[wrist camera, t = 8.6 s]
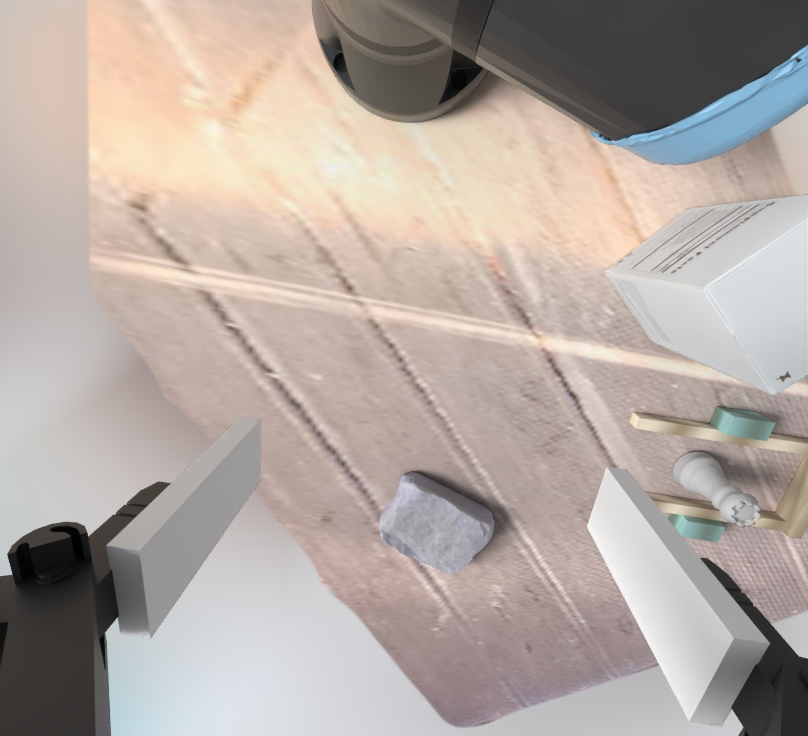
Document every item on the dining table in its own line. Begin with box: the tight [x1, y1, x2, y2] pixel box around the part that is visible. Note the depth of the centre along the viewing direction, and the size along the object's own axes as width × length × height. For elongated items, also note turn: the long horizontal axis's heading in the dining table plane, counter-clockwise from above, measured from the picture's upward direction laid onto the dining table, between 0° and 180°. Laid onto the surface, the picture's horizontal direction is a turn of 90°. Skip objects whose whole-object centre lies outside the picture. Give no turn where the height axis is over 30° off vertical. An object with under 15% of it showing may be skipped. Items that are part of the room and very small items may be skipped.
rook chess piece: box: [673, 451, 762, 527], centre depth 40 cm, size 4×4×8 cm
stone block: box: [379, 472, 494, 574], centre depth 46 cm, size 12×5×10 cm
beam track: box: [629, 406, 808, 542], centre depth 42 cm, size 20×14×2 cm
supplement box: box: [604, 194, 808, 395], centre depth 30 cm, size 9×9×15 cm
